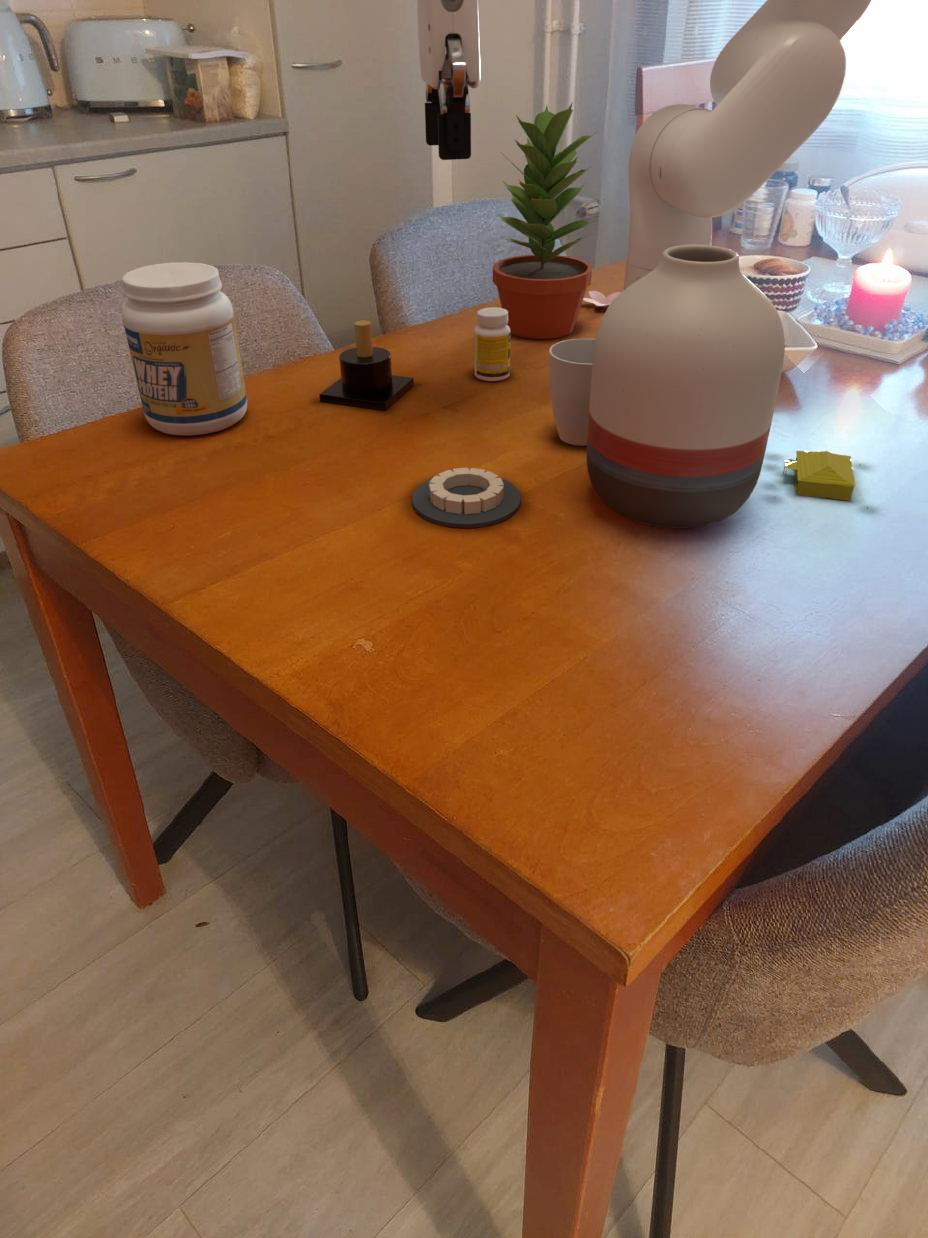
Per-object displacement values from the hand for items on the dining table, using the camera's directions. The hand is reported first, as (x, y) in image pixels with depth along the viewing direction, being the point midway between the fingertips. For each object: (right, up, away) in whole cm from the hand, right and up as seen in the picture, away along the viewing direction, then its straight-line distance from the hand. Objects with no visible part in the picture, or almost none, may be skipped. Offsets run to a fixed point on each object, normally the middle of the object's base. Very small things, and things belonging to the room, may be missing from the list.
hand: (447, 151), depth 93 cm
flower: (+24, +1, +50) cm, 56 cm away
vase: (+22, -37, -3) cm, 43 cm away
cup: (+15, -28, +9) cm, 33 cm away
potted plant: (+13, -5, +41) cm, 44 cm away
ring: (+2, -37, -3) cm, 37 cm away
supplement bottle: (+5, -17, +25) cm, 31 cm away
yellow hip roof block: (+38, -35, 0) cm, 52 cm away
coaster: (+2, -37, -3) cm, 37 cm away
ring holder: (-11, -20, +21) cm, 31 cm away
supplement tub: (-30, -25, +15) cm, 42 cm away
